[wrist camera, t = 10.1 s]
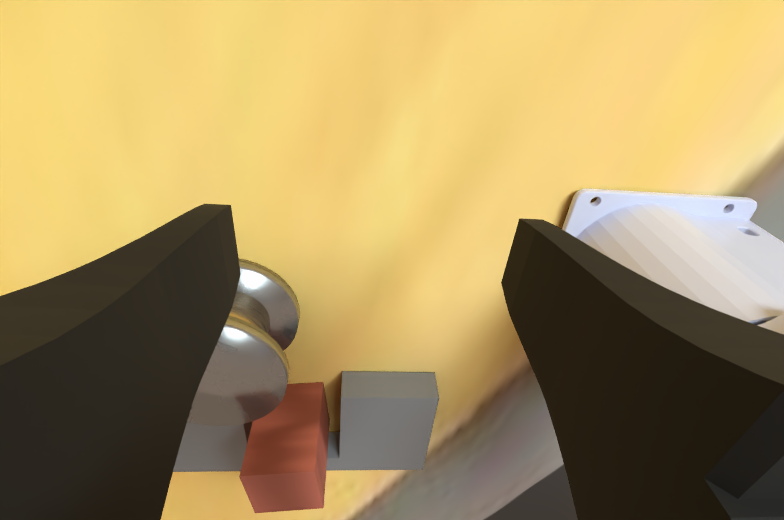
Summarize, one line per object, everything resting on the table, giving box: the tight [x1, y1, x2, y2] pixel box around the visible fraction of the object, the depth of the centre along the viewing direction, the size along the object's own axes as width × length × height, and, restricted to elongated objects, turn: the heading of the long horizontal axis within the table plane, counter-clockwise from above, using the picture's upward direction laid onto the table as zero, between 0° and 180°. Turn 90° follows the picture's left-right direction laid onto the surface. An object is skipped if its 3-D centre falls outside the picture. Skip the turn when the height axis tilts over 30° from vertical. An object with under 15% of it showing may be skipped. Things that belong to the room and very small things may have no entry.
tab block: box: [239, 382, 330, 513], centre depth 26 cm, size 4×4×6 cm
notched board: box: [173, 371, 439, 472], centre depth 28 cm, size 18×8×2 cm, turn 85°
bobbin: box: [187, 259, 300, 426], centre depth 22 cm, size 7×7×5 cm
